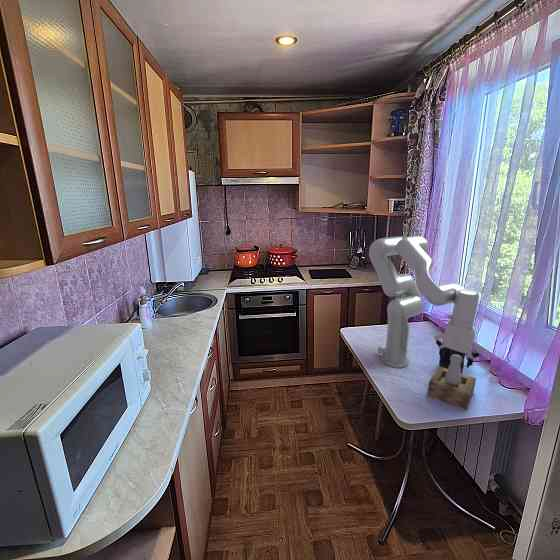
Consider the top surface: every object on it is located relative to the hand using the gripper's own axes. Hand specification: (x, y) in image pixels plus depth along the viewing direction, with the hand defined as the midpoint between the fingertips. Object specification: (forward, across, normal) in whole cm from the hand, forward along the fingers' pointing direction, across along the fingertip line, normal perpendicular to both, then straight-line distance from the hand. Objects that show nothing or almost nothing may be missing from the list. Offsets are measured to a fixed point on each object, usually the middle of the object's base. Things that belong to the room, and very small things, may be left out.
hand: (454, 361), depth 126 cm
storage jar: (+15, -4, +18) cm, 24 cm away
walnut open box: (+15, +1, 0) cm, 15 cm away
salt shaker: (+10, +1, 0) cm, 10 cm away
